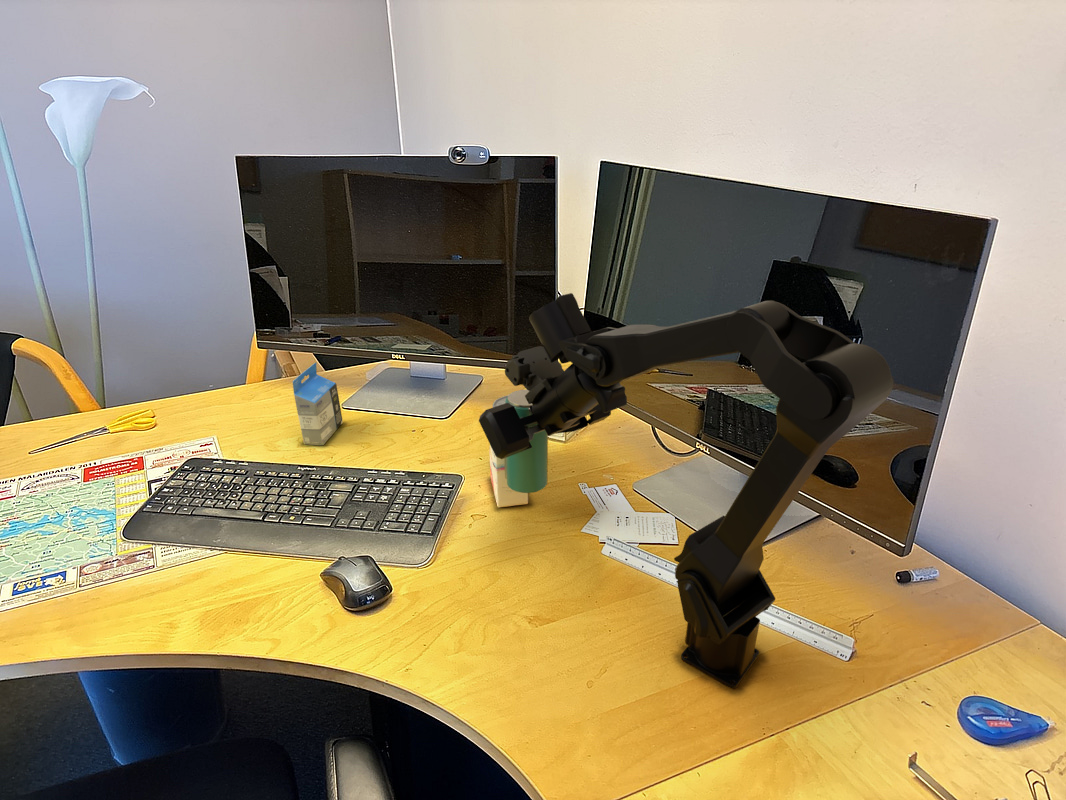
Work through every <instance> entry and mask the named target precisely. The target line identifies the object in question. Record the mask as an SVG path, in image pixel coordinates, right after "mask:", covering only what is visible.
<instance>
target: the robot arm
mask: <svg viewBox="0 0 1066 800" xmlns="http://www.w3.org/2000/svg"><path fill="white" fill-rule="evenodd" d="M528 320H529V322H530V324H531V326H532V328H533V330H534V332H535V334H536V335H537V338H538V339H539V342H540V343H541V345H542V346H541V345H538V346H535V347H530V348H527V349H523V350H520V351H519V352H517V354H515V355H512V356H511V358H510V359H508V360H507V361H506V365H505V368H504V374H505V377H506V378H507V379H508V380H509V382H510V383H511V384H512V385H513V386H515V387H517V386H523V387H524V388H525V390H529V392H528V393H527V394H526V395H525V398H526V400H527V402H528V404H531V403H532V405H533V406H530V407H529V412H530V413H531V414H532V415H530V416H527V417H524V418H523V417H519V415H518V413H517V411H516V409H515V407H514V406H513V405H511V404H509V403H505V404H502V405H499V406H496V407H493V406H492V407H490V408H487V409H485V410H484V411H483V412H482V413H481V414H480V415H479V419H478V423H479V424H480V426H481V429H482V430H483V433H484V435H485V437H486V439H487V441H488V444H489V443H490V445H491V447H492V449H493V451H494V454H495V456H496V457H498V458H500V459H504V458H506V457H509V456H512V455H514V454H517V453H519V452H522V451H525V450H527V449H530V448H532V446H531V444H530V442H529V441H531V440H532V439H533V434H536V433H538V432H541V431H544V430H545V431H546V433H547V435H548V437H550V436H553V435H555V434H564V433H572V432H573V433H574V432H576V431H579V430H581V429H584V428H586V427H588V425H589V426H592V425H594V424H596V423H599V422H602V421H604V420H606V419H607V418H608V417H610V416H611V415H612V411H615V410H617V409H620V408H622V407H625V406H626V405H628V397H627V394H626V387H625V386H624V385H621V383H622V382H624V381H627V380H630V379H633V378H636V377H639V376H641V375H642V376H643V375H644V374H647V373H649V372H651V371H654V370H656V369H659V368H661V367H664V366H669V365H674V364H680V363H687V362H692V361H697V360H704V359H709V358H714V357H715V358H716V357H721V356H726V355H733V354H741V355H742V356H743V357H745V358H746V359H747V360H748V361H749V362H750V364H751V365H752V368H753V369H754V371H755V373H756V374H757V376H758V379H759V380H760V382H761V383H762V385H763V386H764V387H765V388H766V389H767V390H768V391H769V392H771V394H773V395H774V396H776V397H777V398H778V401H777V404H776V407H775V415H776V430H775V434H774V435H773V437H772V439H771V440H770V442H769V444H768V445H767V447H766V448H765V450H764V452H763V453H762V455H761V457H760V458H759V460H758V461H757V463H756V464H755V466H754V468H753V470H752V471H751V473H750V474H749V476H748V477H747V480H746V481H745V483H744V484H743V486H742V488H741V489H740V491H739V492H738V494H737V496H736V497H735V499H734V501H733V503H731V506H730V507H729V509H728V510H727V512H726V514H725V515H722V516H720V517H718V518H717V519H714V520H713V521H712V522H710V523H708V524H706V525H704V526H703V527H700V528H699V529H698V530H696V531H694V532H692V533H691V534H689V535H688V536H687V539H686V540H685V542H684V544H683V548H682V550H681V552H680V554H678V555H676V556H675V557H673V560H674V562H677V563H678V564H676V567H675V569H674V579H676V580H677V583H676V584H677V589H678V594H679V599H680V604H681V608H682V614H683V619H684V621H685V622H687V623H686V631H685V639H684V643H685V645H686V648H685V649H684V650H683V652H682V653H681V655H680V660H681V662H684V663H685V664H687V665H689V666H690V667H693V668H694V669H696V670H698V671H700V672H702V673H703V674H705V675H707V677H710V678H712V679H714V680H716V681H717V682H719V683H721V684H723V686H724V685H725V686H726V687H728V688H730V689H736V688H737V687H738V686H739V685H740V683H741V682H742V680H743V679H744V678H745V676H746V674H747V673H748V672H749V670H750V669H751V667H752V666H753V665H754V663H755V662H756V660H757V659H758V658H759V655H760V651H759V650H758V649H757V648H756V644H757V638H758V634H759V627H760V623H761V618H759V617H758V616H759V615H760V614H762V613H763V612H765V611H767V610H768V609H770V607H771V606H772V605H773V603H774V602H775V601H776V597H775V595H774V593H773V591H772V590H771V587H770V586H769V584H768V582H767V581H766V579H765V577H764V575H763V574H762V571H761V570H760V569H761V567H762V564H763V562H764V549H763V545H764V543H765V541H766V540H767V538H768V537H769V535H770V534H771V532H772V531H773V530H774V528H775V527H776V525H777V524H778V523H779V521H780V520H781V518H782V517H783V515H784V514H785V512H786V511H787V509H789V507H790V505H791V504H792V502H793V501H794V500H795V498H796V497H797V495H798V493H799V492H800V491H801V490H802V488H803V487H804V485H805V484H806V482H807V481H808V479H809V478H810V476H811V475H812V474H813V472H814V471H815V470H816V468H817V467H818V465H819V463H820V462H821V461H822V459H823V457H825V455H826V453H828V451H829V449H830V448H831V447H832V446H834V445H835V444H836V443H837V442H838V441H840V440H841V439H842V438H843V437H845V436H846V435H847V434H848V433H849V432H851V431H853V429H854V428H856V427H857V426H858V425H860V424H861V423H862V422H863V421H864V420H865V419H866V418H868V416H870V415H871V414H872V413H873V412H874V411H875V410H876V409H877V408H879V406H881V405H882V404H883V403H884V402H885V401H886V400H887V399H888V398H889V397H890V394H891V392H892V390H893V388H894V382H895V379H894V377H893V376H892V371H891V368H890V365H889V364H888V362H887V360H886V359H885V357H884V356H883V355H882V354H881V353H880V352H878V351H877V350H876V349H874V348H873V347H871V346H868V345H867V344H862V343H856V342H854V341H853V340H852V339H850V338H849V337H847V336H846V335H845V334H843V333H842V332H840V331H839V330H836V329H834V328H831V327H829V326H826V325H824V324H821V323H819V322H817V321H813V320H811V319H809V318H807V317H803V316H802V315H799V314H798V313H797V312H795V311H794V310H793V309H791V308H789V307H788V306H786V305H785V304H783V303H781V302H777V301H775V300H764V301H761V302H757V303H755V304H752V305H748V306H745V307H742V308H739V309H737V310H733V311H729V312H724V313H721V314H717V315H713V316H708V317H704V318H699V319H695V320H691V321H686V322H682V323H677V324H674V325H669V326H659V325H656V324H629V325H626V326H622V327H619V328H618V327H617V328H616V327H611V326H607V327H604V328H600V329H597V330H593V331H592V329H591V328H590V325H589V324H588V321H587V320H586V318H585V316H584V315H583V313H582V311H581V309H580V306H579V304H578V300H577V299H576V297H575V295H574V293H572V292H569V293H566V294H561V295H558V296H557V298H556V299H554V300H552V301H550V302H548V303H547V304H544V305H542V307H540V308H539V309H535V310H534V311H533V312H532V313H531V314H530V315H529V317H528ZM796 357H797V358H800V359H801V360H803V362H801V361H800V360H799V359H797V358H796ZM568 363H571V364H570V365H569V366H568V367H567V368H565V370H564V369H563V366H562V364H568ZM587 416H589V419H587ZM537 423H538V425H537ZM534 424H536V425H534ZM532 425H534V426H533V427H532ZM529 426H531V427H529ZM528 427H529V428H528Z"/></svg>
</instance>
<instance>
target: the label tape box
mask: <svg viewBox="0 0 1066 800" xmlns="http://www.w3.org/2000/svg"><path fill="white" fill-rule="evenodd" d="M317 364H318V363H317V361H316V362H314V363H313V364H311V365H310V366H309V367H308V368H306V369H305V370H304V371H302V372H301V373H300V374H299V375H298V376H296V378H294V379H293V380H292V382H291V383H292V389H293V396H294V401H295V406H296V411H297V416H298V422H299V426H300V432H301V436H302V440H303V441H302V442H303V444H304V445H311V446H324V445H325V444H326V443H327V442H328V440H329V439H330V438H331V437H332V436H333V435H334V433H335V432H336V431H337V430H338V429H339V428H340V427H341V425H342V424H343V423H344V422H343V420H344V419H343V415H342V408H341V404H340V403H341V401H340V398H339V397H340V396H339V391H338V385H337V383H336V382H334V381H332V380H330V379H328V378H326V377H324V376H321V375H319V374H317ZM305 377H307V378H306V379H305ZM304 379H305V380H304ZM302 381H303V382H302Z"/></svg>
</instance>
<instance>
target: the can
mask: <svg viewBox="0 0 1066 800" xmlns="http://www.w3.org/2000/svg"><path fill="white" fill-rule="evenodd" d="M528 392H529V390H527V389H519V390H514V391H512V392H511V393H509V394H507V395H508V397H507V398H506V400H505V403H509V404H511V405H513V406H514V407H515V409H516V411H517V413H518V415H519V417H523V418H524V417H527V416H530V415H532V414H531V413H530V412H529V407H530V406H533V405H532V403H531V404H528V402H527V400H526V398H525V395H526V394H527V393H528ZM534 425H536V424H534ZM534 425H532V427H533V426H534ZM537 425H538V423H537ZM529 427H531V426H529ZM529 427H528V428H529ZM529 442H530V444H531V446H532V448H530V449H527V450H525V451H522V452H519V453H517V454H514V455H512V456H509V457H506V464H507V485H508V486H509V488H511V489H512V490H514V491H517V492H521V493H528V494H532V493H533V494H534V493H537V492H540V491H542V490H543V489H545V488H546V486H547V485H548V462H549V461H548V458H549V457H548V454H549V453H548V452H549V451H548V450H549V446H548V445H549V436H548V435H547V433H546V431H545V430H544V431H541V432H538V433H536V434H533V439H532V440H531V441H529Z"/></svg>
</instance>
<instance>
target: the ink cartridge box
mask: <svg viewBox="0 0 1066 800" xmlns="http://www.w3.org/2000/svg"><path fill="white" fill-rule="evenodd" d="M488 446H489V448H488V449H489V472H490V482H491V486H492V490H493V494H494V498H495V501H496V505H497V508H505V507H512V506H522V505H528V503H529V493H521V492H517V491H514V490H512V489H511V488H509V486H508V485H507V464H506V458H504V459H500V458H498V457H496V456H495V454H494V451H493V449H492V447H491V445H490V443H489V442H488Z"/></svg>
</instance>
